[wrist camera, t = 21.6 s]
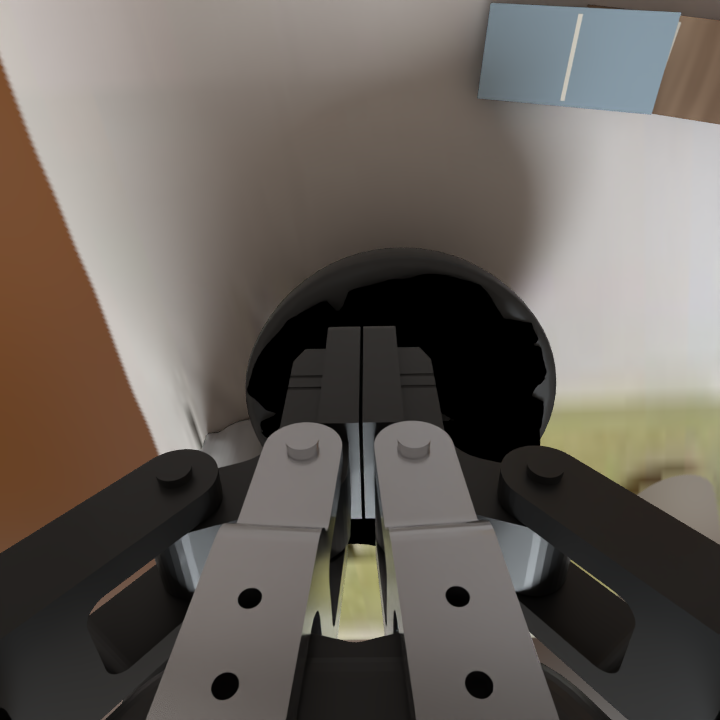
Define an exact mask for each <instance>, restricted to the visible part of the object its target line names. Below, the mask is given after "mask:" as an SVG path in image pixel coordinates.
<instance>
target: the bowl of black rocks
mask: <svg viewBox="0 0 720 720" xmlns="http://www.w3.org/2000/svg"><path fill="white" fill-rule="evenodd" d="M363 326H395V328H396V338H397V347H420V348H421V349H422V350H423V351H424V352H425V354H426V355H427V356H428V357H429V358H430V359H431V362H432V367H433V373H434V378H435V384H436V389H437V394H438V400H439V405H440V410H441V416H442V421H443V426H444V431H445V432H446V433H447V434H448V435H449V436H450V438H451V439H452V442H453V444H454V446H455V447H456V448H458V449H459V450H461V451H463V452H465V453H466V454H469V455H471V456H474V457H477V458H481V459H485V460H489V461H494V462H499V463H501V462H502V460H503V458H504V457H505V456H506V455H507V454H508V453H509V452H511V451H512V450H514V449H517V448H520V447H524V446H540V438H541V437H542V435H543V433H544V431H545V429H546V427H547V424H548V422H549V420H550V416H551V413H552V410H553V406H554V400H555V394H556V370H555V363H554V358H553V353H552V350H551V347H550V344H549V341H548V339H547V337H546V334H545V332H544V330H543V328H542V327H541V325H540V323H539V322H538V320H537V319H536V317H535V316H534V314H533V313H532V312H531V311H530V309H529V308H528V307H527V306H526V304H525V303H524V302H523V301H522V300H521V299H520V298H519V297H518V296H517V295H516V294H515V293H514V292H513V291H512V290H511V289H510V288H509V287H508V286H506V285H505V284H504V283H503V282H501V281H500V280H499V279H497V278H496V277H495V276H493V275H492V274H490V273H488V272H487V271H485V270H484V269H482V268H480V267H478V266H476V265H474V264H472V263H470V262H468V261H466V260H463V259H460V258H458V257H455V256H452V255H449V254H445V253H441V252H437V251H432V250H425V249H417V248H387V249H378V250H373V251H368V252H363V253H360V254H357V255H353V256H350V257H347V258H344V259H342V260H340V261H337V262H335V263H333V264H330V265H329V266H327V267H325V268H323V269H321V270H319V271H318V272H316V273H315V274H313V275H312V276H310V277H309V278H308V279H306V280H305V281H304V282H302V283H301V284H300V285H299V286H298V287H296V288H295V289H294V290H293V291H292V292H291V293H290V294H289V295H288V296H287V297H286V298H285V299H284V300H283V301H282V302H281V303H280V305H279V306H278V307H277V308H276V310H275V311H274V312H273V314H272V315H271V316H270V318H269V319H268V321H267V322H266V324H265V326H264V327H263V329H262V331H261V332H260V334H259V337H258V339H257V341H256V343H255V345H254V347H253V350H252V353H251V356H250V359H249V363H248V368H247V373H246V402H247V408H248V414H249V417H250V421H251V424H252V427H253V429H254V432H255V434H256V436H257V438H258V440H259V442H260V444H261V446H262V447H264V444H265V442H266V440H267V439H268V438H269V437H270V436H271V435H272V434H273V433H274V432H276V431H277V430H279V429H280V425H281V420H282V415H283V410H284V405H285V400H286V395H287V391H288V386H289V381H290V378H291V371H292V366H293V362H294V361H295V359H296V358H297V357H298V356H299V355H300V354H301V353H302V352H303V351H304V350H305V349H326V343H327V334H328V328H329V327H361V356H362V394H363ZM348 544H368V545H373V546H376V533H375V518H365V491H364V456H363V433H362V519H351V529H350V539H349V541H348Z"/></svg>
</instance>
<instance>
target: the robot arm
mask: <svg viewBox="0 0 720 720" xmlns="http://www.w3.org/2000/svg"><path fill="white" fill-rule="evenodd" d="M362 433H363V456H364V491H365V518H375V533H376V560H377V569H378V578H379V587H380V596H381V605H382V614H383V623H384V632H385V636H382V637H379V638H375V639H371V640H367V641H363V642H357V643H356V642H347V641H343V640H339V639H337V637H338V629H339V621H340V613H341V605H342V597H343V589H344V581H345V573H346V565H347V557H348V541H349V539H350V529H351V519H362ZM154 558H155V561H156V565H155V566H153V567H152V568H151V569H149V570H148V571H147V572H145V573H144V574H143V575H142V576H140V577H139V578H138V579H136V580H135V581H134V582H132V583H131V584H130V585H129V586H128V587H126V588H125V589H123V590H122V591H121V592H120V593H118V594H117V595H115V596H114V597H113V598H112V599H111V600H109V601H108V602H106V603H105V604H104V605H102V606H101V607H100V608H99V609H97V610H96V611H95V612H93V613H92V614H91V615H89V614H90V612H91V610H92V609H93V607H94V606H95V605H96V603H97V602H98V601H99V600H100V599H101V598H102V597H104V596H105V595H106V594H107V593H109V592H110V591H111V590H113V589H114V588H115V587H117V586H118V585H119V584H121V583H122V582H123V581H125V580H126V579H127V578H129V577H130V576H131V575H133V574H134V573H135V572H136V571H138V570H139V569H140V568H142V567H143V566H145V565H146V564H147V563H148V562H150V561H151V560H152V559H154ZM570 560H573V561H574V562H575V563H577V564H578V565H579V566H581V567H582V568H583V569H585V570H586V571H587V572H589V573H590V574H591V575H593V576H594V577H596V578H597V579H598V580H600V581H601V582H602V583H604V584H605V585H606V586H608V587H609V588H610V589H612V590H613V591H614V592H616V593H617V594H618V595H619V596H621V597H622V598H623V599H624V600H625V602H624V601H623V600H622V599H620V598H619V597H618V596H616V595H615V594H613V593H612V592H611V591H609V590H608V589H607V588H605V587H604V586H603V585H601V584H600V583H599V582H597V581H596V580H595V579H593V578H592V577H591V576H589V575H588V574H587V573H585V572H584V571H583V570H581V569H580V568H579V567H577V566H576V565H575V564H573V563H572V562H570ZM529 632H530V633H531V634H533V635H534V636H535V637H536V638H537V639H538V640H539V641H540V642H542V643H543V644H544V645H545V646H546V647H547V648H548V649H549V650H551V651H552V652H553V653H554V654H555V655H556V656H557V657H558V658H559V659H561V660H562V661H563V662H564V663H565V664H566V665H567V666H568V667H570V668H571V669H572V670H573V671H574V672H575V673H576V674H578V675H579V676H580V677H581V678H582V679H583V680H584V681H586V683H587V684H589V685H590V686H591V687H592V688H593V689H594V690H595V691H596V692H598V693H599V694H600V695H601V696H602V697H603V698H604V699H605V700H607V701H608V702H609V703H610V704H611V705H612V706H613V707H614V708H616V709H617V710H618V711H619V712H620V713H621V714H622V715H623V716H624V717H626V718H627V719H628V720H720V545H719V544H717V543H716V542H714V541H712V540H711V539H709V538H707V537H706V536H704V535H702V534H701V533H699V532H697V531H696V530H694V529H692V528H691V527H689V526H687V525H686V524H684V523H682V522H680V521H679V520H677V519H676V518H674V517H672V516H671V515H669V514H667V513H665V512H664V511H662V510H660V509H659V508H657V507H656V506H654V505H652V504H650V503H649V502H647V501H645V500H644V499H642V498H640V497H639V496H637V495H635V494H634V493H632V492H630V491H629V490H627V489H625V488H624V487H622V486H620V485H619V484H617V483H615V482H614V481H612V480H610V479H609V478H607V477H605V476H604V475H602V474H600V473H599V472H597V471H595V470H594V469H592V468H590V467H589V466H587V465H585V464H584V463H582V462H580V461H579V460H577V459H575V458H574V457H572V456H570V455H568V454H566V453H564V452H562V451H560V450H557V449H554V448H550V447H545V446H524V447H520V448H517V449H514V450H512V451H511V452H509V453H508V454H507V455H506V456H505V457H504V458H503V460H502V462H501V463H499V462H494V461H489V460H485V459H481V458H477V457H474V456H471V455H469V454H466V453H465V452H463V451H461V450H459V449H458V448H456V447H455V446H454V444H453V442H452V439H451V438H450V436H449V435H448V434H447V433H446V432H445V431H444V426H443V421H442V416H441V410H440V405H439V400H438V394H437V389H436V384H435V378H434V373H433V367H432V362H431V359H430V358H429V357H428V356H427V355H426V354H425V352H424V351H423V350H422V349H421V348H420V347H397V338H396V328H395V326H363V394H362V356H361V327H329V328H328V334H327V343H326V349H305V350H304V351H303V352H302V353H301V354H300V355H299V356H298V357H297V358H296V359H295V361H294V362H293V366H292V371H291V378H290V381H289V386H288V391H287V395H286V400H285V405H284V410H283V415H282V420H281V425H280V429H279V430H277V431H276V432H274V433H273V434H272V435H271V436H270V437H269V438H268V439H267V440H266V442H265V444H264V447H262V446H261V444H260V442H259V440H258V438H257V436H256V434H255V432H254V429H253V427H252V424H251V421H250V420H245V421H240V422H237V423H235V424H232V425H230V426H228V427H227V428H225V429H224V430H222V431H221V432H219V433H209V434H207V435H206V438H205V441H204V443H203V446H202V449H201V451H199V450H192V449H183V450H176V451H171V452H167V453H164V454H162V455H159V456H157V457H155V458H153V459H152V460H150V461H149V462H147V463H145V464H143V465H142V466H140V467H139V468H137V469H135V470H134V471H132V472H131V473H129V474H128V475H126V476H124V477H123V478H121V479H119V480H118V481H116V482H114V483H113V484H111V485H110V486H108V487H107V488H105V489H103V490H102V491H100V492H98V493H97V494H95V495H94V496H92V497H90V498H89V499H87V500H86V501H84V502H82V503H81V504H79V505H77V506H76V507H74V508H73V509H71V510H69V511H68V512H66V513H65V514H63V515H61V516H60V517H58V518H57V519H55V520H53V521H52V522H50V523H48V524H47V525H45V526H44V527H42V528H40V529H39V530H37V531H36V532H34V533H32V534H31V535H29V536H28V537H26V538H24V539H23V540H21V541H19V542H18V543H16V544H15V545H13V546H11V547H10V548H8V549H7V550H5V551H3V552H2V553H0V720H101V719H102V718H103V717H104V716H105V715H106V714H107V713H109V712H110V711H111V710H112V709H113V708H114V707H115V706H116V705H117V704H119V703H120V702H121V701H122V700H123V702H122V704H121V705H120V706H119V707H118V708H117V709H116V710H115V711H114V712H113V713H112V714H111V715H109V716H108V717H107V718H106V720H611V719H610V718H609V717H608V716H607V715H606V714H605V713H604V712H603V711H602V710H601V709H600V708H598V707H597V705H595V704H594V703H593V702H592V701H591V700H590V699H589V698H588V697H587V696H586V695H585V694H584V693H583V692H582V691H580V690H579V689H578V688H577V687H576V686H575V685H573V684H572V683H571V682H570V681H568V680H567V679H565V678H564V677H563V676H562V675H560V674H559V673H557V672H555V671H554V670H552V669H551V668H549V667H547V666H546V665H544V664H542V663H540V662H539V659H538V656H537V653H536V650H535V647H534V645H533V641H532V638H531V635H530V633H529Z"/></svg>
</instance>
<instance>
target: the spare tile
mask: <svg viewBox="0 0 720 720" xmlns="http://www.w3.org/2000/svg"><path fill="white" fill-rule="evenodd" d="M680 15H681V12H662V11H642V10H622V9H603V8H583V7H563V6H543V5H524V4H504V3H491V5H490V12H489V19H488V27H487V34H486V41H485V48H484V55H483V62H482V69H481V76H480V83H479V90H478V97H477V98H479V99H490V100H501V101H511V102H522V103H533V104H544V105H554V106H565V107H576V108H586V109H597V110H608V111H619V112H629V113H640V114H652V111H653V108H654V104H655V101H656V97H657V94H658V90H659V87H660V84H661V80H662V77H663V73H664V70H665V66H666V63H667V60H668V56H669V53H670V49H671V46H672V42H673V39H674V36H675V32H676V29H677V25H678V22H679V18H680Z"/></svg>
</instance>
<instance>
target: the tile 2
mask: <svg viewBox="0 0 720 720" xmlns="http://www.w3.org/2000/svg"><path fill="white" fill-rule="evenodd" d="M587 8H603V9H621V8H613V7H604V6H596V5H588V6H587ZM622 10H629V9H622ZM652 114H658V115H664V116H670V117H677V118H683V119H689V120H696V121H702V122H708V123H715V124H720V20H713V19H705V18H696V17H688V16H680V18H679V22H678V25H677V29H676V32H675V36H674V39H673V42H672V46H671V49H670V53H669V56H668V60H667V63H666V66H665V70H664V73H663V77H662V80H661V84H660V87H659V90H658V94H657V97H656V101H655V104H654V108H653V111H652Z"/></svg>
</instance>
